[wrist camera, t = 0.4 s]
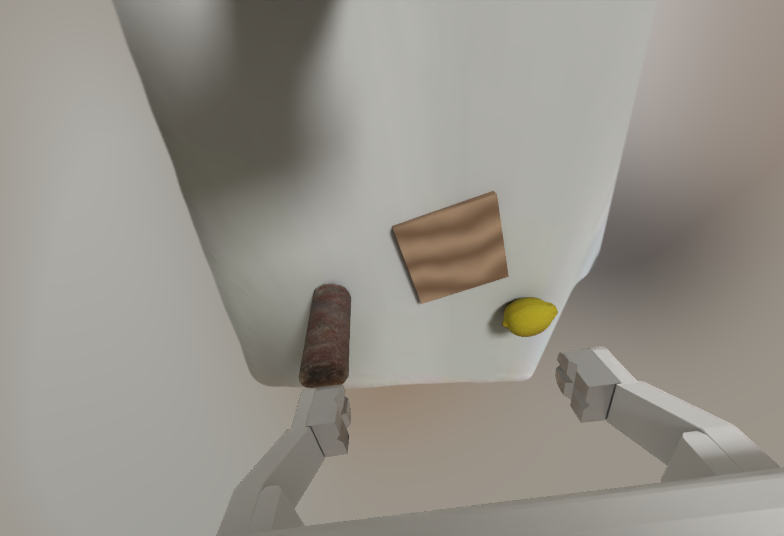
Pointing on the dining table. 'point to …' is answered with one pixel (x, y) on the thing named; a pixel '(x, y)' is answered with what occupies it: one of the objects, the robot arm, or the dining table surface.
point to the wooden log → (327, 338)
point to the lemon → (528, 316)
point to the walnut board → (454, 247)
